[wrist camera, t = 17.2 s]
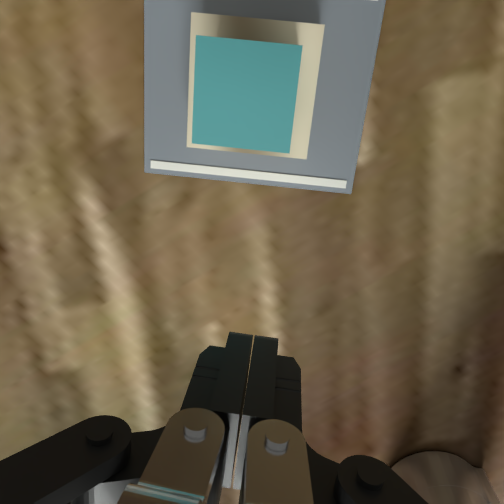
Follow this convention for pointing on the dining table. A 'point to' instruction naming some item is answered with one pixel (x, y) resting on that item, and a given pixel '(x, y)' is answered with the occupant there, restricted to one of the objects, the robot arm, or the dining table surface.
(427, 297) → the dining table surface
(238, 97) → the teal block
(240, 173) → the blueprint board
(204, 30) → the base block
